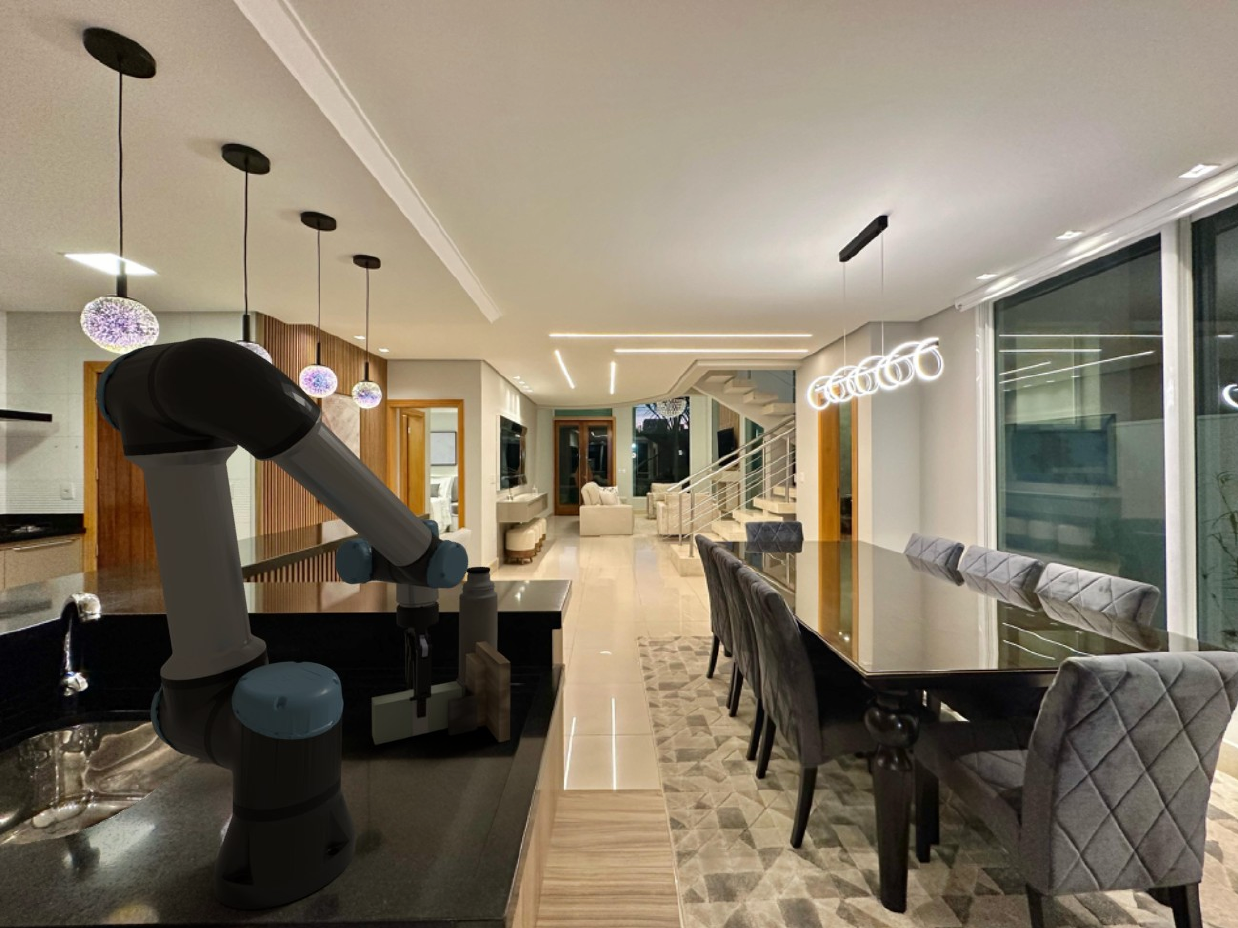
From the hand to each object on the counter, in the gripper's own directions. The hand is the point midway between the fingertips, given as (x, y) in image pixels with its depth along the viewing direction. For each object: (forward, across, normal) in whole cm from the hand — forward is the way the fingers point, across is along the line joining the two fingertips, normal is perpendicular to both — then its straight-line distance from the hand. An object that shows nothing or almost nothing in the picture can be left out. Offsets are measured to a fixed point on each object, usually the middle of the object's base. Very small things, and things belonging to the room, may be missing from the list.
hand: (417, 727), depth 108 cm
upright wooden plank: (+1, -4, -9) cm, 10 cm away
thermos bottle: (+1, +10, -14) cm, 18 cm away
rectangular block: (0, 0, 0) cm, 1 cm away
